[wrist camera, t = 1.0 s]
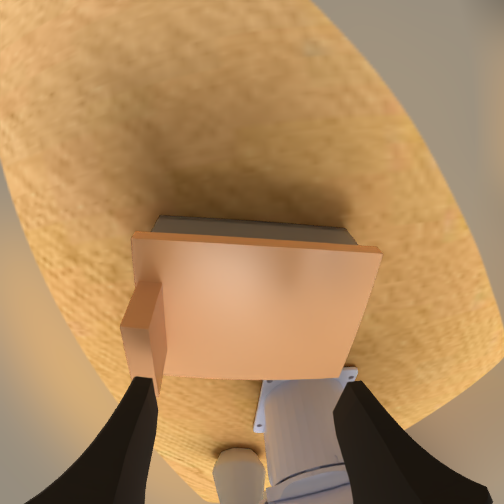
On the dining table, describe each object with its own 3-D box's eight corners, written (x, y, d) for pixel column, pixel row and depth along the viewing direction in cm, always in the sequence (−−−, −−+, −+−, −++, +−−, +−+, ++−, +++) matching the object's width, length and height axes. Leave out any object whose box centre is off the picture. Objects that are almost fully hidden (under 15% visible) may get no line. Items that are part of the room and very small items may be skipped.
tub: (318, 329, 22) (330, 364, 19) (164, 324, 21) (156, 359, 18) (345, 228, 19) (366, 254, 16) (159, 215, 18) (145, 241, 15)
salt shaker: (214, 464, 32) (216, 558, 21) (210, 444, 29) (211, 552, 18) (262, 463, 32) (272, 556, 21) (264, 443, 30) (277, 550, 18)
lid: (332, 360, 20) (352, 419, 16) (151, 355, 19) (138, 417, 15) (371, 240, 16) (414, 291, 12) (139, 224, 15) (107, 277, 11)
